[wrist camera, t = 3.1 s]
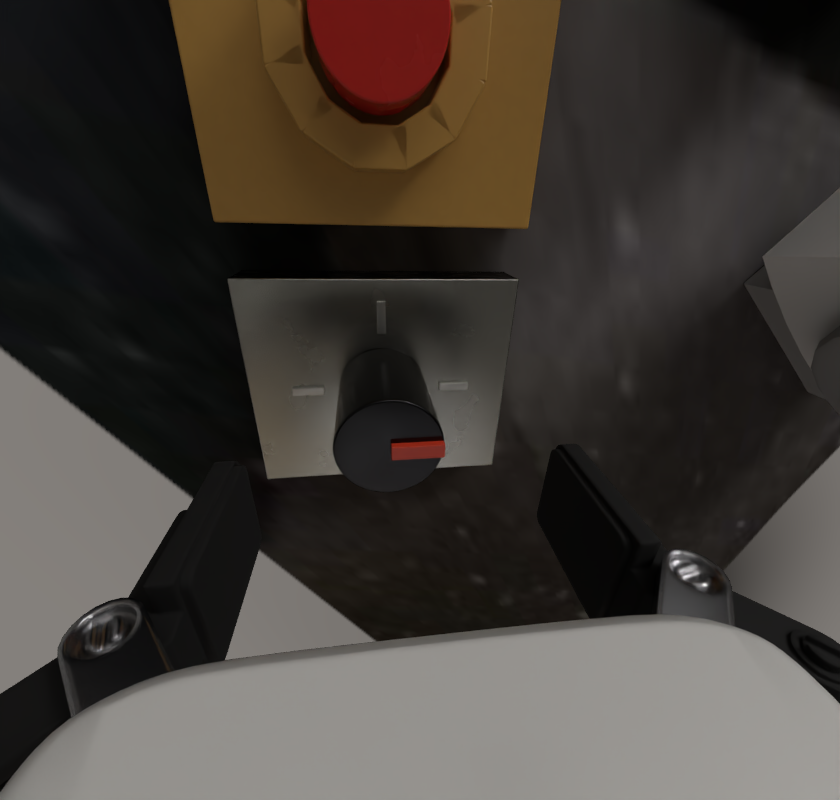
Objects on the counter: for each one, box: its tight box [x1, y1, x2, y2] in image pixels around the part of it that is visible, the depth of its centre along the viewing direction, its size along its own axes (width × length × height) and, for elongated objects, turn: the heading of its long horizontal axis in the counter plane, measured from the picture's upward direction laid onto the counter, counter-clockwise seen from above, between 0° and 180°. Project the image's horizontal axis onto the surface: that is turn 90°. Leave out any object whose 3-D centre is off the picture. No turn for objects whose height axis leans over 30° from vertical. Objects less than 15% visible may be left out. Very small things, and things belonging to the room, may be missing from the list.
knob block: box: [169, 0, 561, 229], centre depth 12 cm, size 12×10×4 cm
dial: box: [333, 349, 445, 492], centre depth 16 cm, size 4×4×5 cm
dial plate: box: [227, 270, 519, 479], centre depth 19 cm, size 12×10×2 cm
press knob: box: [307, 0, 451, 116], centre depth 10 cm, size 4×4×2 cm
